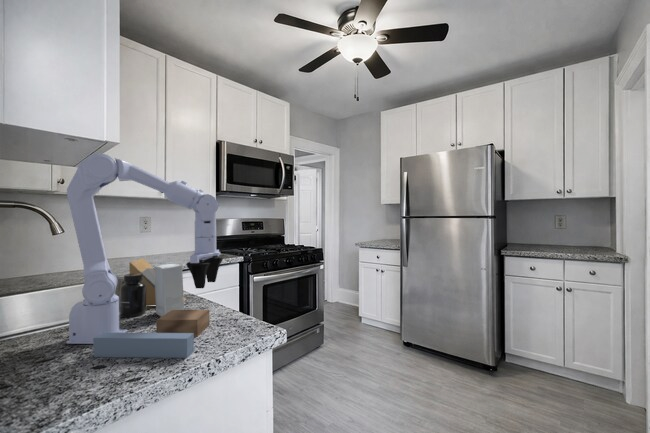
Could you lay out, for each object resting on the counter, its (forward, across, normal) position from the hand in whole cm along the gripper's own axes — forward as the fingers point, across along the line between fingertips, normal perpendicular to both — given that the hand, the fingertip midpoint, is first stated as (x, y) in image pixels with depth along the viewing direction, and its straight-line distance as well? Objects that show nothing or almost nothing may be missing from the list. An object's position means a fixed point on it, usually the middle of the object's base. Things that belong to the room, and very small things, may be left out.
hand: (206, 284), depth 88 cm
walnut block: (+10, -8, +2) cm, 13 cm away
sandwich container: (+10, +16, +23) cm, 30 cm away
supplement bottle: (+10, +4, +24) cm, 27 cm away
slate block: (+10, -22, +4) cm, 24 cm away
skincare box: (+10, +5, +13) cm, 17 cm away
